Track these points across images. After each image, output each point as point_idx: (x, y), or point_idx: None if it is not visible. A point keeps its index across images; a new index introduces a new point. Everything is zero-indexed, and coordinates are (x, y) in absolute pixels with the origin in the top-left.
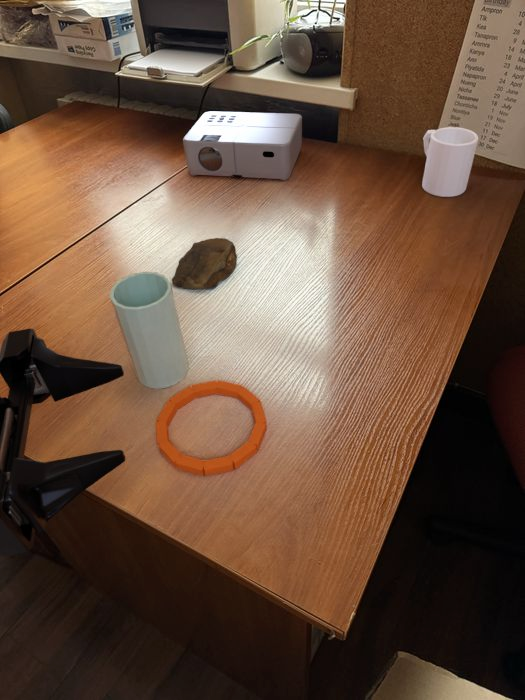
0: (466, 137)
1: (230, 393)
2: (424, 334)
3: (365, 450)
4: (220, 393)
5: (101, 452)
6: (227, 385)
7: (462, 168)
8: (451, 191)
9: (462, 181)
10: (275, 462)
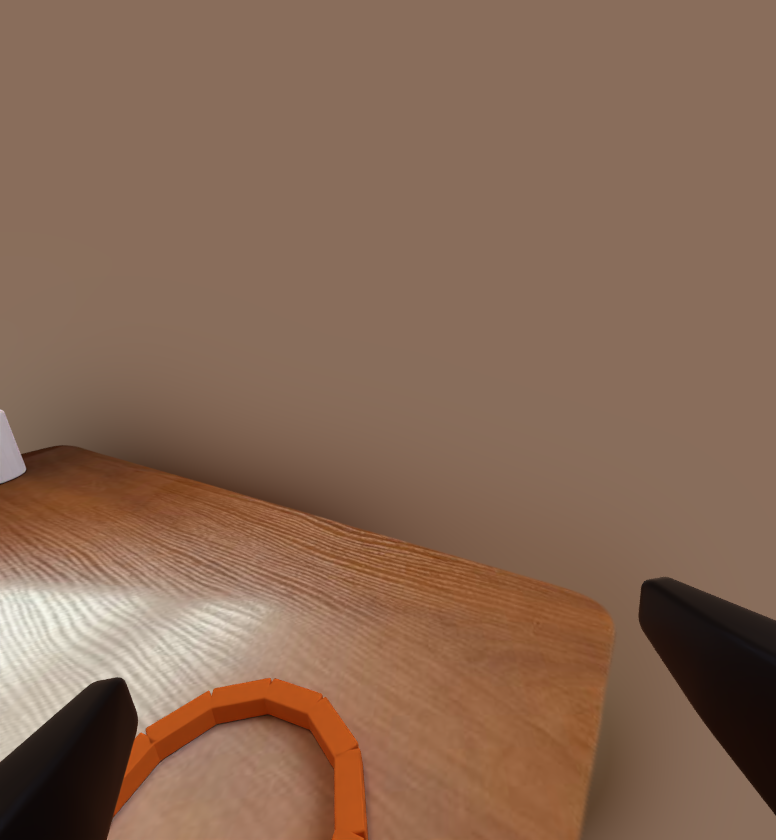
0: None
1: (140, 770)
2: (210, 511)
3: (361, 568)
4: (115, 809)
5: (725, 626)
6: None
7: (9, 441)
8: (14, 470)
9: (18, 455)
10: (358, 679)
